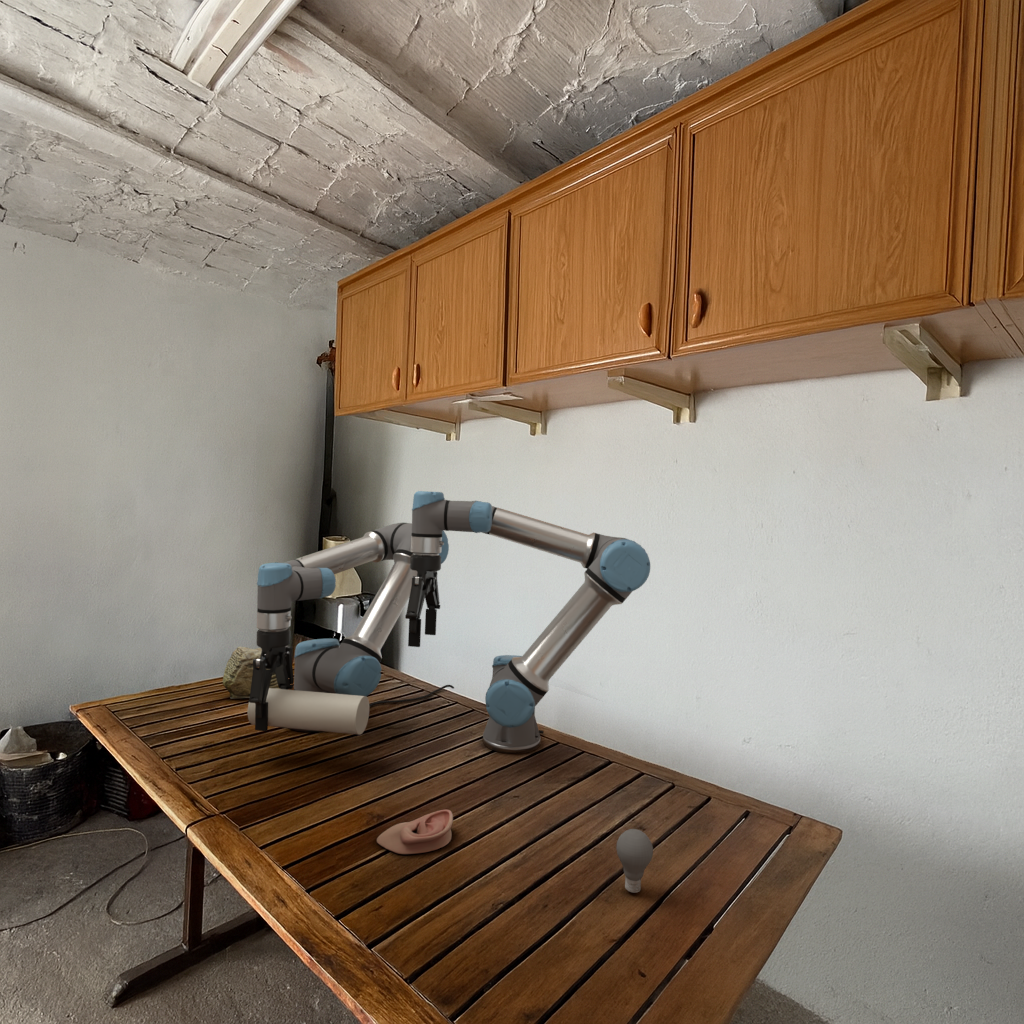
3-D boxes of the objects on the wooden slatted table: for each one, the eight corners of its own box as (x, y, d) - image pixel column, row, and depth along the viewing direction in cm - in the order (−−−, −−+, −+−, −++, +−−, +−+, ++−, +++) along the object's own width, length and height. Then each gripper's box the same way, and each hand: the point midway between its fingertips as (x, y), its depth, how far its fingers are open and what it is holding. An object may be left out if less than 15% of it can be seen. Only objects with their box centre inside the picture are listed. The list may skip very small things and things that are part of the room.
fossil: (218, 695, 195) (220, 647, 195) (278, 685, 208) (279, 640, 207) (228, 703, 189) (230, 653, 188) (289, 692, 201) (290, 645, 201)
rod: (246, 730, 147) (247, 693, 147) (266, 717, 156) (267, 682, 155) (354, 740, 143) (356, 702, 143) (369, 726, 152) (370, 691, 151)
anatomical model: (370, 827, 114) (394, 798, 126) (369, 849, 114) (393, 818, 126) (440, 838, 112) (458, 808, 123) (439, 860, 112) (458, 828, 123)
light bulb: (610, 879, 108) (613, 822, 108) (644, 879, 109) (647, 822, 109) (619, 902, 102) (622, 840, 102) (655, 901, 103) (658, 840, 103)
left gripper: (264, 640, 139) (262, 741, 140) (309, 620, 160) (307, 709, 161) (232, 637, 140) (230, 738, 141) (282, 618, 161) (280, 706, 162)
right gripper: (426, 559, 142) (422, 653, 143) (453, 551, 167) (449, 631, 167) (394, 557, 143) (390, 650, 144) (425, 549, 168) (422, 629, 169)
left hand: (271, 722), depth 151 cm, fingers closed on rod, 9 cm apart
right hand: (422, 640), depth 156 cm, fingers open, 13 cm apart
